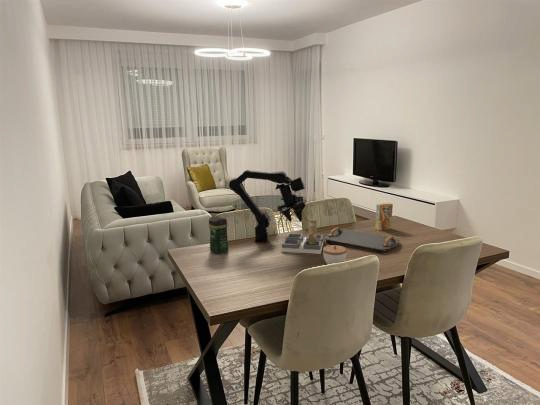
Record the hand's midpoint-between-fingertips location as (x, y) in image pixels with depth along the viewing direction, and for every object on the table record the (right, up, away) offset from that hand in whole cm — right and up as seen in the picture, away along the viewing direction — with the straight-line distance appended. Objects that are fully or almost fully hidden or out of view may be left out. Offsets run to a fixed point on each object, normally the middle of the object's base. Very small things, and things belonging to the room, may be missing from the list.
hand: (295, 221), depth 226 cm
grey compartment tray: (+3, -13, -6) cm, 15 cm away
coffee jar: (-40, -15, -12) cm, 45 cm away
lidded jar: (+16, -19, -32) cm, 41 cm away
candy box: (+54, -6, +23) cm, 59 cm away
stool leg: (+8, -12, -13) cm, 20 cm away
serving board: (+35, -12, -1) cm, 37 cm away
